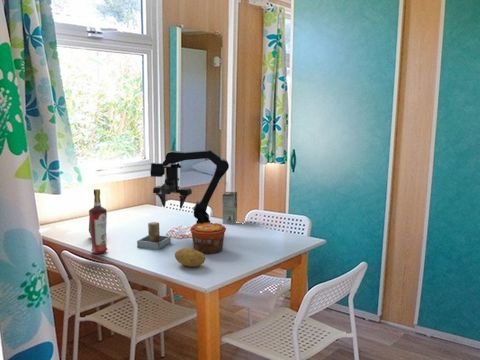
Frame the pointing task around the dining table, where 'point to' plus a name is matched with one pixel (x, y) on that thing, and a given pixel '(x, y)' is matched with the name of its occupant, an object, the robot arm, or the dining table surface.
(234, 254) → the dining table surface
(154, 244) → the bin
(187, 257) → the potato
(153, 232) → the walnut cylinder
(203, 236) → the food container
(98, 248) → the liquor
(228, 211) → the coffee box
